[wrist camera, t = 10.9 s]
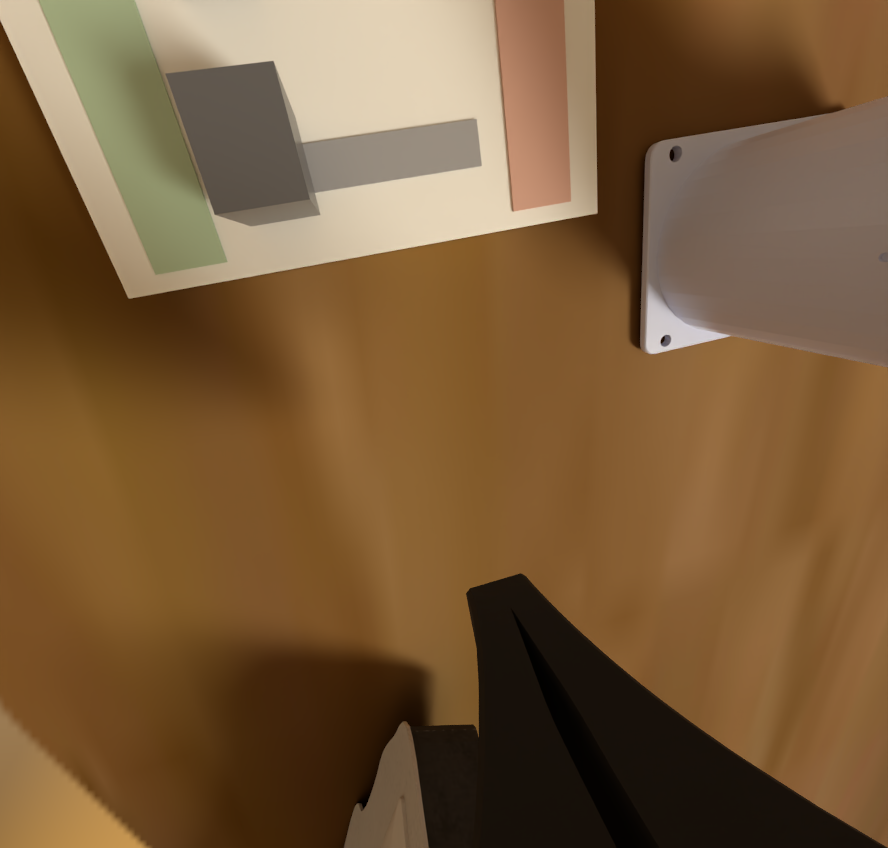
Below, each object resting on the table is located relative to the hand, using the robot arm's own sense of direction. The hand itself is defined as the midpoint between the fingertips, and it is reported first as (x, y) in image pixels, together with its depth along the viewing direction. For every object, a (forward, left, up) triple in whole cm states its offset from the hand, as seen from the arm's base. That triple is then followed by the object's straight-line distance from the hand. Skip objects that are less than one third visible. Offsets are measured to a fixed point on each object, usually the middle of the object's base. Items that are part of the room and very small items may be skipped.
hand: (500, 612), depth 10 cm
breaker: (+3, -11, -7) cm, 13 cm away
